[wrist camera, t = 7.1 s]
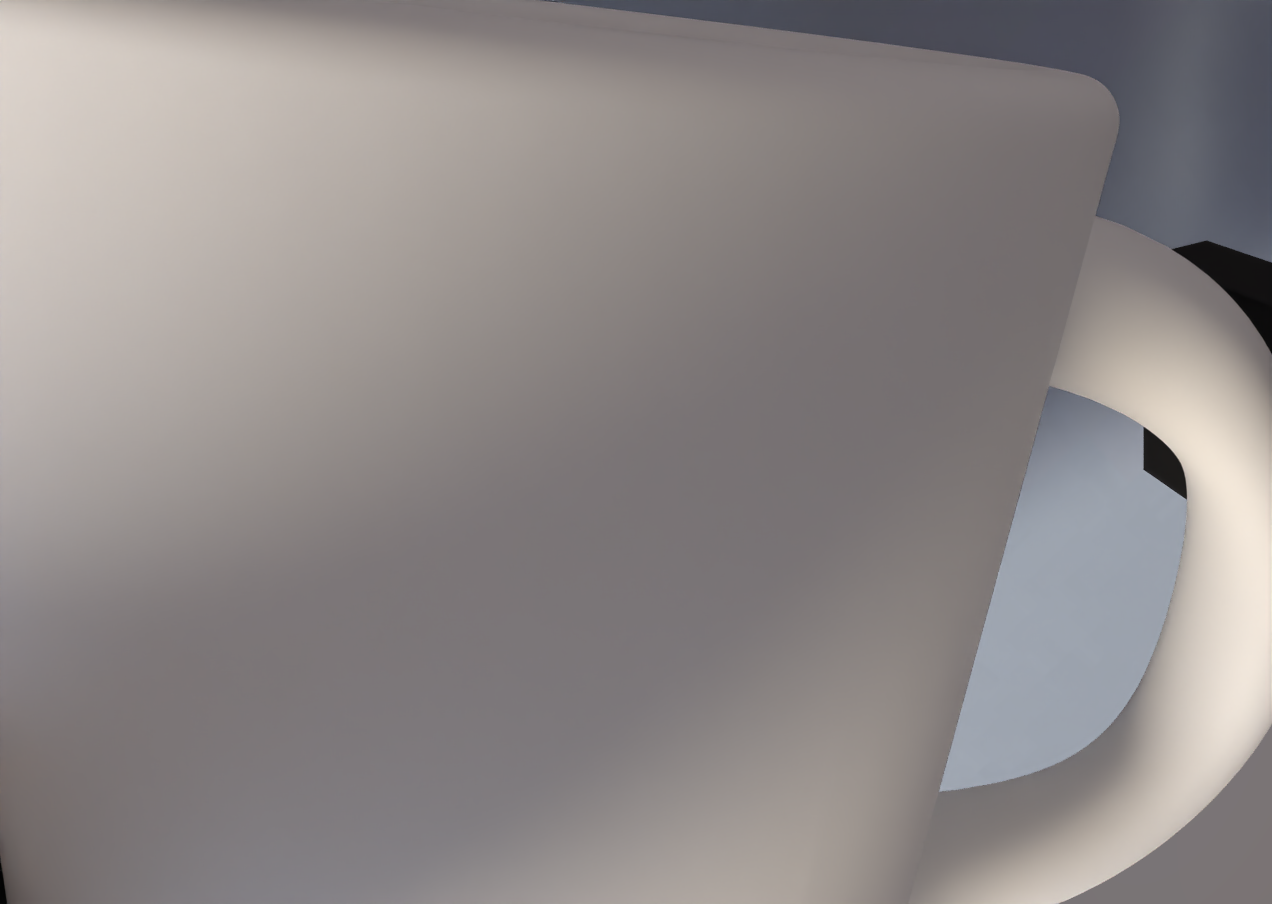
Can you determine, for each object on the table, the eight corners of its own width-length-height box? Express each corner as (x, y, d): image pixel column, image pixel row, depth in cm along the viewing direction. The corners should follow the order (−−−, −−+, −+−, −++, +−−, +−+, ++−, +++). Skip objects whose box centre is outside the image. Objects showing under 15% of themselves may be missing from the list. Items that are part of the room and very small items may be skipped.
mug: (162, 768, 14) (-126, 1554, 7) (103, -52, 11) (-619, -107, 3) (992, 757, 17) (1404, 1354, 9) (1189, 77, 13) (2132, 206, 6)
